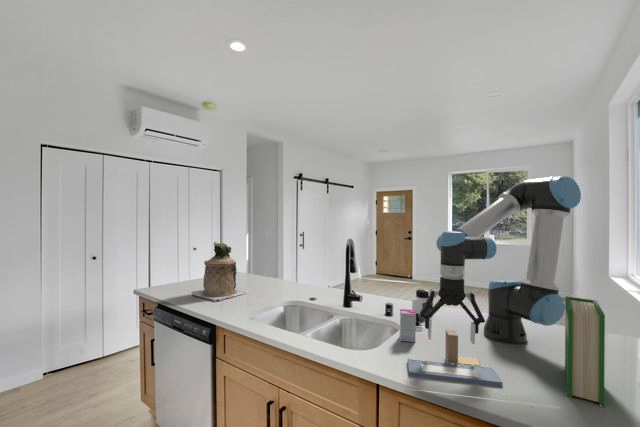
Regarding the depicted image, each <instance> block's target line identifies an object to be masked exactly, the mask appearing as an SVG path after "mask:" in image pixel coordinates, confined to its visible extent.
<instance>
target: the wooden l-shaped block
mask: <svg viewBox="0 0 640 427" xmlns="http://www.w3.org/2000/svg"><path fill="white" fill-rule="evenodd" d="M445 359H446V363H454V364H464V365H474V366H482V365H481V362H480V361H479V360H478V358H474V357H467V356H466V357H465V356H459V335H458V333H457V331H456V329H445Z"/></svg>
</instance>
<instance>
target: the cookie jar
mask: <svg viewBox="0 0 640 427" xmlns="http://www.w3.org/2000/svg"><path fill="white" fill-rule="evenodd" d="M213 247H214V248H213V251H214V253H215V254H214V256H212V257H211V258H209V259H207V260H204V261H203V263H204V266H205V267H204V274H203V285H202V286H203V289H201V290H195V291H191V292H190V293H191V294H192V297H194V296H195V297H199V298H203V299H207V300H210V301H213V302H217V301H224V300H225V299H231V298H234V297H235V298H236V297H239V296H243V295H246V294H248V290H247V289H241V288H237V282H236V281H237V280H236V279H237V278H236V277H237V273H238V272H237V270H238V269H237V262H236V260H235V259H233V258H232V257H230V256H231V255H230V254H231V253H232V247H231V246H228V244H225V243H224V242H222V243H221V242H216V241H214V242H213Z"/></svg>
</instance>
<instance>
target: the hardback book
mask: <svg viewBox="0 0 640 427" xmlns="http://www.w3.org/2000/svg"><path fill="white" fill-rule="evenodd" d="M564 315H565V317H564V318H565V319H564V320H565V321H564V322H565V323H564V324H565V325H564V330H565V332H564V333H565V337H564V375H565V384H567V385H566V392H567V398H568V397H570V398H569V399H571V398H572V399H573V396H575V397H578V398H581V399H586V400H589V401H592V402H597V403H598V402H599V403H598V406H599V405H601V406H604V407H605V348H606V347H605V346H606V345H605V337H606V335H605V334H606V333H605V332H606V330H605V329H606V326H605V325H606V322H605V320H606V315H605V313H604V311H603V310H602V307H601V306H600V304H599V303H598V300H596V299H589V298H581V297H573V296H565V311H564ZM601 406H600V407H601Z"/></svg>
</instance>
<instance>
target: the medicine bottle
mask: <svg viewBox="0 0 640 427" xmlns="http://www.w3.org/2000/svg"><path fill="white" fill-rule="evenodd" d="M429 295H430V290H427V289H417V290H416V291H415V298H412V301H411V303H412V304H411V306H412V307H411V310H415V312H420V311H421V310H422V308H423V306H424V304H425V302H426V301H427V299H428V297H429ZM433 306H434V300H433V301H432V303H431V305H430V306H429V308H428V310H427V312H428V311H429V310H430V309H431V308H432V307H433ZM427 312H426V313H427ZM426 313H425V314H426Z"/></svg>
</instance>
